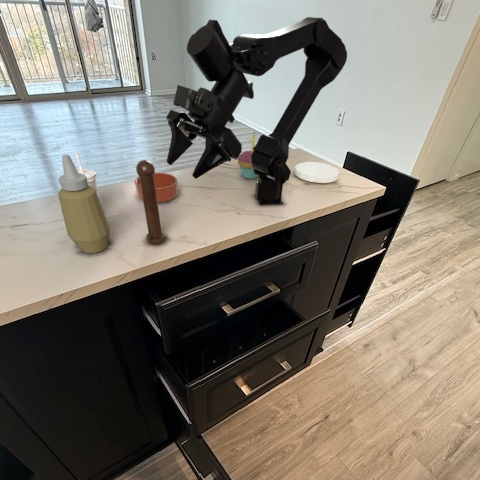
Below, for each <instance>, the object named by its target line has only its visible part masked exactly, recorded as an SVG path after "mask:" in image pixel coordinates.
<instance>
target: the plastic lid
mask: <svg viewBox="0 0 480 480" xmlns="http://www.w3.org/2000/svg"><path fill="white" fill-rule="evenodd" d="M294 175H295V176H296V177H297V178H299V179H301V180H303V181H306V182H310V183H318V184H328V183H333V182H336V181H338V179H339V177H340V170H339V169H338V168H337V167H335V166H333V165H331V164H328V163H325V162H324V163H323V162H318V161H317V162H316V161H305V162H300V163H297V164H296V165H295V167H294Z"/></svg>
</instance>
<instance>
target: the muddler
mask: <svg viewBox="0 0 480 480" xmlns="http://www.w3.org/2000/svg"><path fill="white" fill-rule="evenodd" d="M135 167H136V168H135V171H136V174H137V175H138V177H139V179H140V185H141V191H142V197H143V200H142V202H143V208H144V214H145V220H146V221H145V222H146V226H147V231H148V232H147V234H146V242H147V244H149V245H153V246H159V245H161V244H164V243H165V242H166V235H165V233H164V232H163V231H162V225H161V224H162V223H161V217H160V210H159V203H158V201H157V194H156V187H155V179H154V174H155V173H156V167H155V165H154V164H153V163H152V162H151V161H150V160H147V159H142V160H139V162H137V164H136V166H135Z"/></svg>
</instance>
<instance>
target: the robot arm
mask: <svg viewBox="0 0 480 480" xmlns="http://www.w3.org/2000/svg"><path fill="white" fill-rule="evenodd" d="M302 49H303V53H304V55H305V57H306V60H305V62H304V76H303V79H302V80H301V81H300V83H299V85H298V87H297V89H296V90H295V92H294V94H293V95H292V98H291V99H290V101H289V103H288V105H287V106H286V108H285V110H284V112H283V114H282V115H281V117H280V119H279V121H278V122H277V124H276V126H275V127H274V129H273V130H272V132H271V133H270V134H268V135H267V134H264V133H262V134H261V135H260V136H259V137H258V140H257V142H256V144H255V145H254V148H253V150H254V151H253V153H252V156H251V159H252V166H253V170H254V174H256V175H258V176H257V181H255V191H254V197H255V199H256V200H257V202H258V204H259V205H260V206H266V205H267V206H269V205H271V206H272V205H283V204H284V201H283V199H282V195H283V190H284V184H286V183H287V181H289V180H290V177H291V175H292V171H291V168H290V167H289V166H288V164H287V162H288V159H289V153H290V151H289V150H290V144H291V142H292V140H293V138H294V137H295V135H296V133H297V131H298V130H299V128H300V127H301V125H302V123H303V121H304V120H305V118H306V116H307V115H308V113H309V111H310V109H311V107H312V106H313V104H314V103H315V101H316V99H317V98H318V96H319V95H320V92H321V91H322V89H323V88H325V87H326V86H328V85H329V84H331V83H332V82H334V81H335V80H336V79H337V77H338V76H339V74H340V73H341V71H343V68H344V67H345V65H346V63H347V59H348V51H347V48H346V45H345V43H344V42H343V40H342V39H341V37H340V36H338V34H337V33H336V32H334V31H333V30H332V29H331V28H330V26H329V24H328V23H327V21H326V20H325V19H324V18H323V17H316V16H315V17H313V16H307V17H305V18H303V19H302V20H300V21H297V22H295V23H292V24H290V25H286V26H284V27H282V28H279V29H277V30H274V31H271V32H268V33H263V34H262V33H261V34H255V33H253V34H239V35H237V36H235V37H234V39H233V40H232V43H229V41H228V39H227V37H226V36H225V34H224V31H223V29H222V26H221V25H220V23H219V20H217V19H208V21H207V22H206V24H205V25H203V26H201V27H200V28H199V29H198V30H196V32H195V33H193V34H191V36H190V38H189V39H188V41H187V44H186V52H187V54H188V55H189V57H190V58H191V59H192V61H193V63H194V64H195V65H196V67H197V68H198V69H199V71H200V72H201V74H202V75H203V77H204V78H205V80H206V81H207V82H210V83H212V82H215V83H214V84H213V86H212V87H211V89H210V90H209V89H207V88H205V87H199V88H198V89H197V90H195V89H192V88H189V87H186V86H182V85H179V84H177V87H176V90H175V94H174V98H173V103H172V104H173V106H176V107H180V108H182V109H184V110H186V111H188V113H186V112H185V111H182V110H179V109H176V108H173V109H170V110H169V112H168V114H167V115H166V117H165V119H166V120H167V125H168V126H169V128H170V133H171V139H170V143H169V149H168V153H167V157H166V163H167V164H168V165H169V166H172V165H174V163H175V162H176V161H177V160H179V158H180V157H181V156H183V155H184V153H185V152H186V151H187V150H188V149H190V147H191V146H193V144H194V143H193V141H194V140H195V139H197V137H200V138H202V139H205V142H204V143H205V146H204V151H202V154H201V156H200V158H199V159H198V162H197V163H196V165H195V168H194V169H193V172H192V174H191V176H192V177H193V178H194V179H195V180H196V179H198V178H200V177H202V176H203V175H205V174H206V173H208V172H210V171H212V170H213V169H215V168H216V167H219V166H221V165H222V164H225V163H227V162H231V161H232V160H235V161H238V157H239V156H240V154H242V153H243V151H242V150H243V144H242V143H241V141H240V140H239V139H238V137H237V136H236V135H235V133H234V132H233V130H232V129H231V128H230V127H226V126H227V124H228V123H230V124H233V123H234V122H235V120H236V118H235V116H234V115H233V114H234V113H235V111H236V109H237V108H238V106H239V105H240V103H241V101H242V99H243V98H246V99H250V100H253V99H254V98H255V95H254V94H255V92H254V88H253V87H254V83H253V82H252V81H249V80H248V79H247V77H246V76H245V74H246V75H249V76H250V75H251V76H254V77H262V76H264V75H265V74H266V73H267V72H269V71H270V70H272V69H273V68H274V67H275V64H276V62H277V61H278V60H280V59H282V58H284V57H287V56H289V55H291V54H294V53H295V52H298V51H300V50H302Z"/></svg>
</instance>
